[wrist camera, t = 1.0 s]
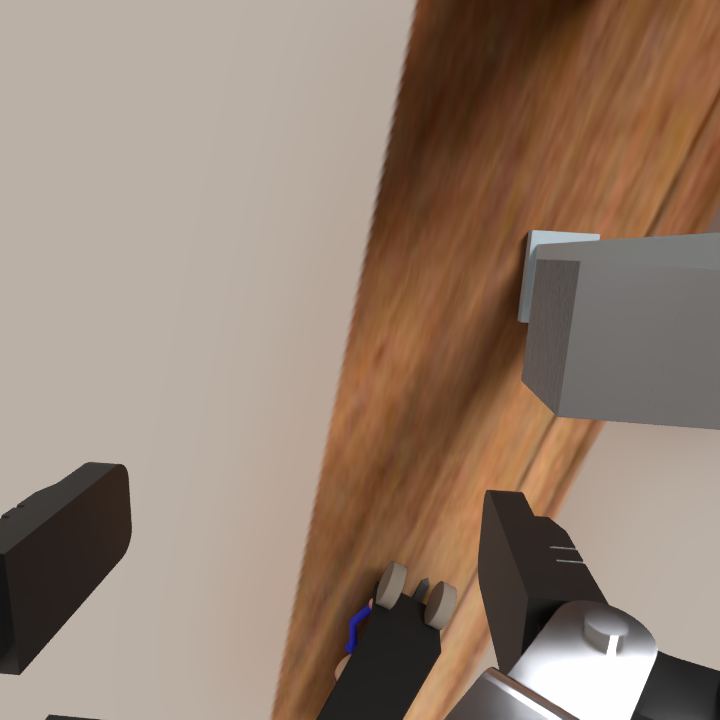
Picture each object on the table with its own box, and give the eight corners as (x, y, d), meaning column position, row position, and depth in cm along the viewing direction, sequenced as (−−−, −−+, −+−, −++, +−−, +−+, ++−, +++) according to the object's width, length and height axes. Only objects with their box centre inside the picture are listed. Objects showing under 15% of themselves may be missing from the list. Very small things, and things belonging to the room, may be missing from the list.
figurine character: (385, 533, 48) (317, 672, 50) (388, 575, 40) (308, 738, 42) (451, 562, 48) (382, 701, 50) (467, 610, 41) (385, 772, 42)
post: (528, 230, 40) (986, 154, 9) (594, 235, 40) (1295, 170, 9) (517, 320, 42) (880, 518, 11) (580, 324, 42) (1144, 541, 10)
